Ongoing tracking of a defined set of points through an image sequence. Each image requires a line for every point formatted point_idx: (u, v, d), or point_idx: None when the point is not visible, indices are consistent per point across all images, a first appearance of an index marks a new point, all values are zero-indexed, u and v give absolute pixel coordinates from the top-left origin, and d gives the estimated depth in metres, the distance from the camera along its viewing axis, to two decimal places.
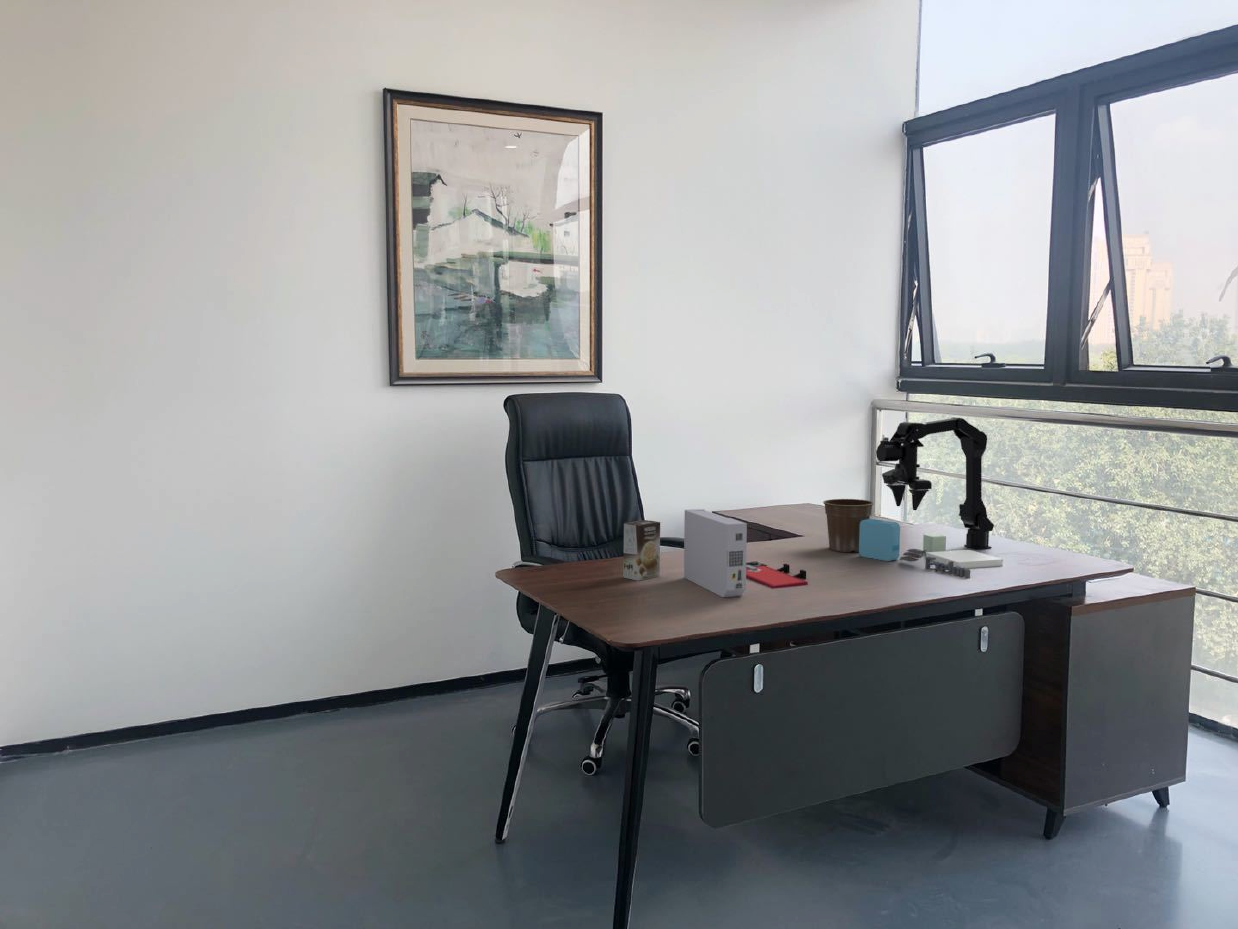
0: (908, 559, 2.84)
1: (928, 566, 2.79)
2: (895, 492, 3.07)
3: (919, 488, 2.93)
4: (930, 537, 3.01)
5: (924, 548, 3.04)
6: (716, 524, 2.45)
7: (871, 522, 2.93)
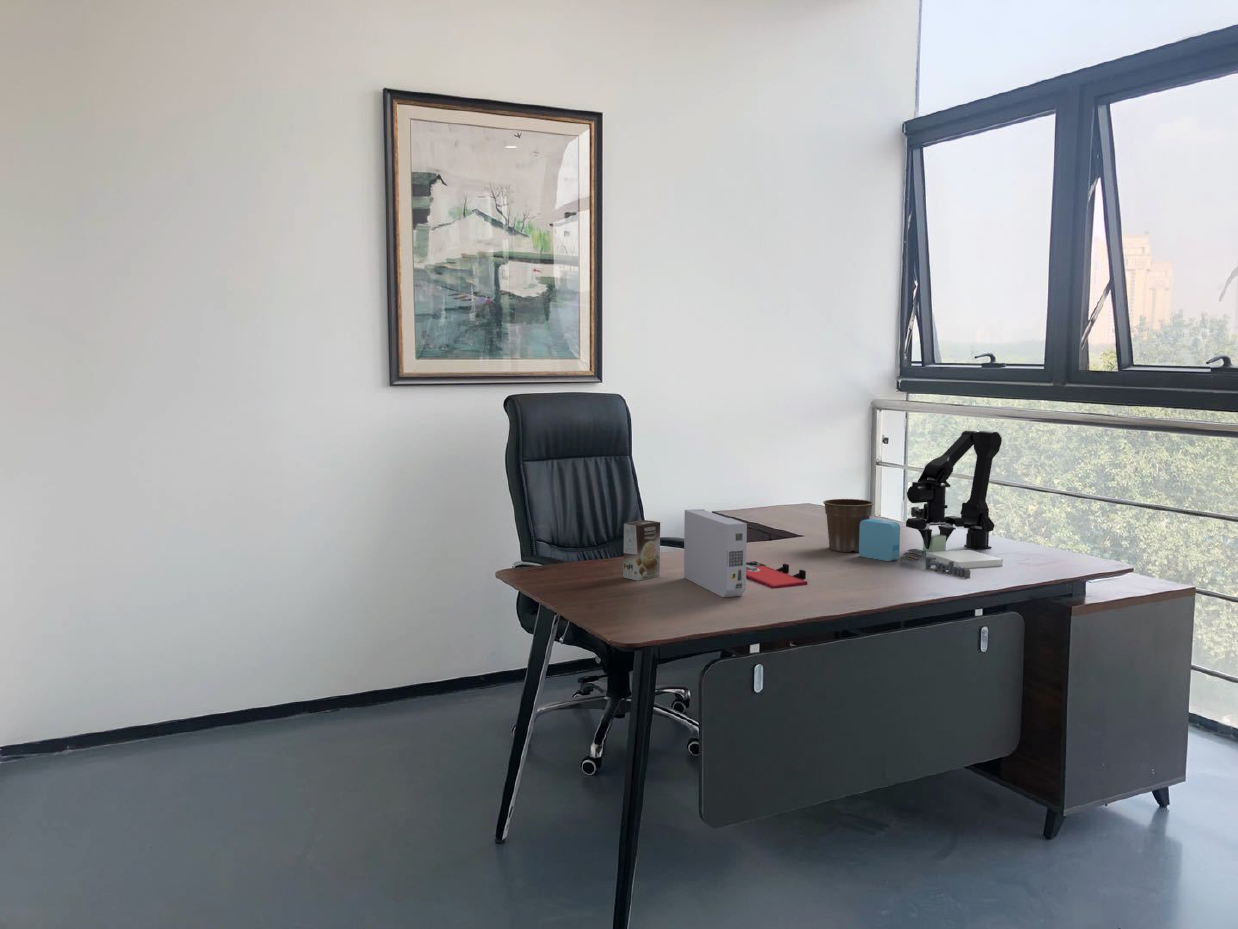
0: (908, 559, 2.84)
1: (928, 566, 2.79)
2: (940, 533, 3.04)
3: (907, 525, 3.01)
4: None
5: (924, 548, 3.04)
6: (716, 524, 2.45)
7: (871, 522, 2.93)
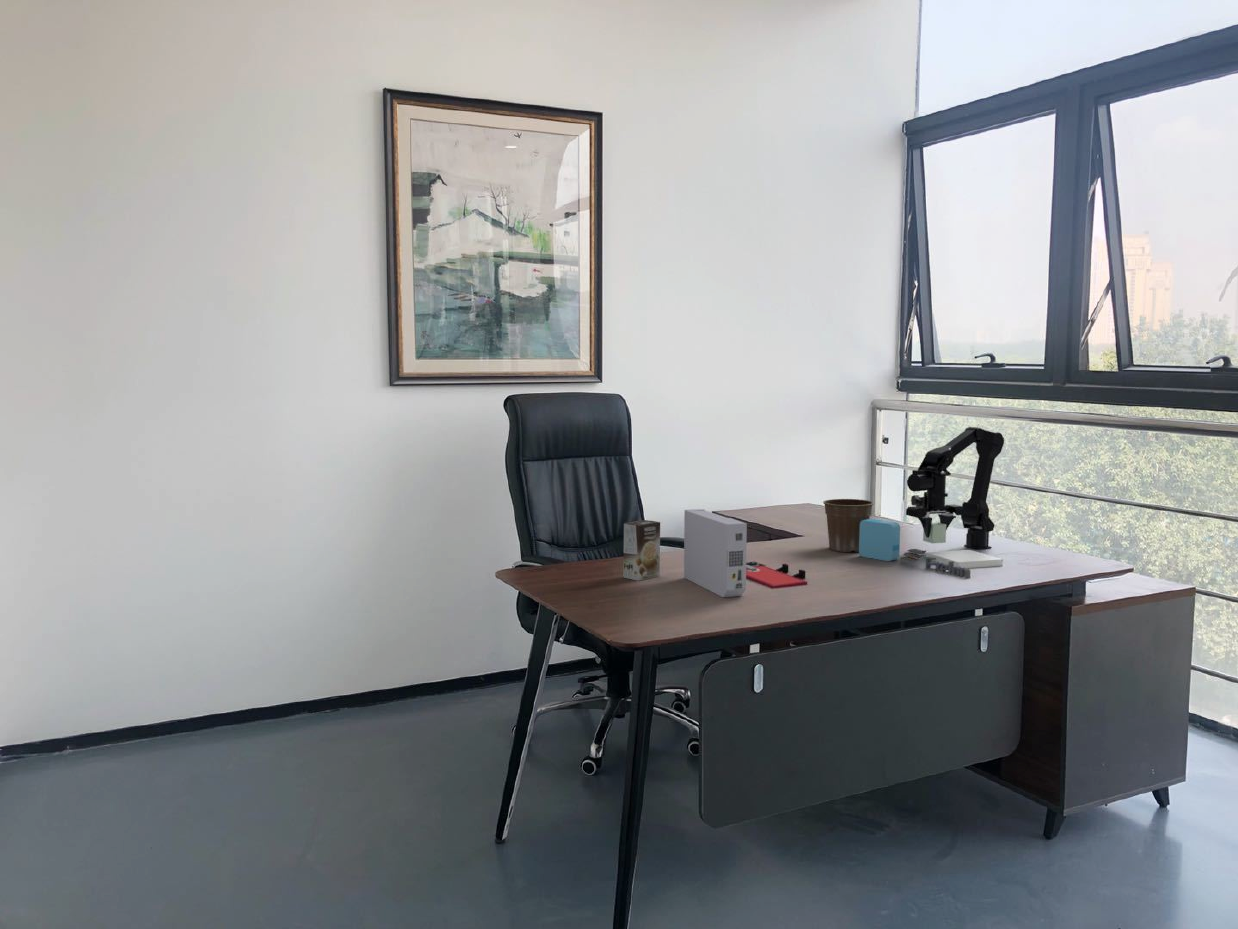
0: (908, 559, 2.84)
1: (928, 566, 2.79)
2: (940, 522, 3.04)
3: (907, 514, 3.01)
4: None
5: (924, 536, 3.03)
6: (716, 524, 2.45)
7: (871, 522, 2.93)
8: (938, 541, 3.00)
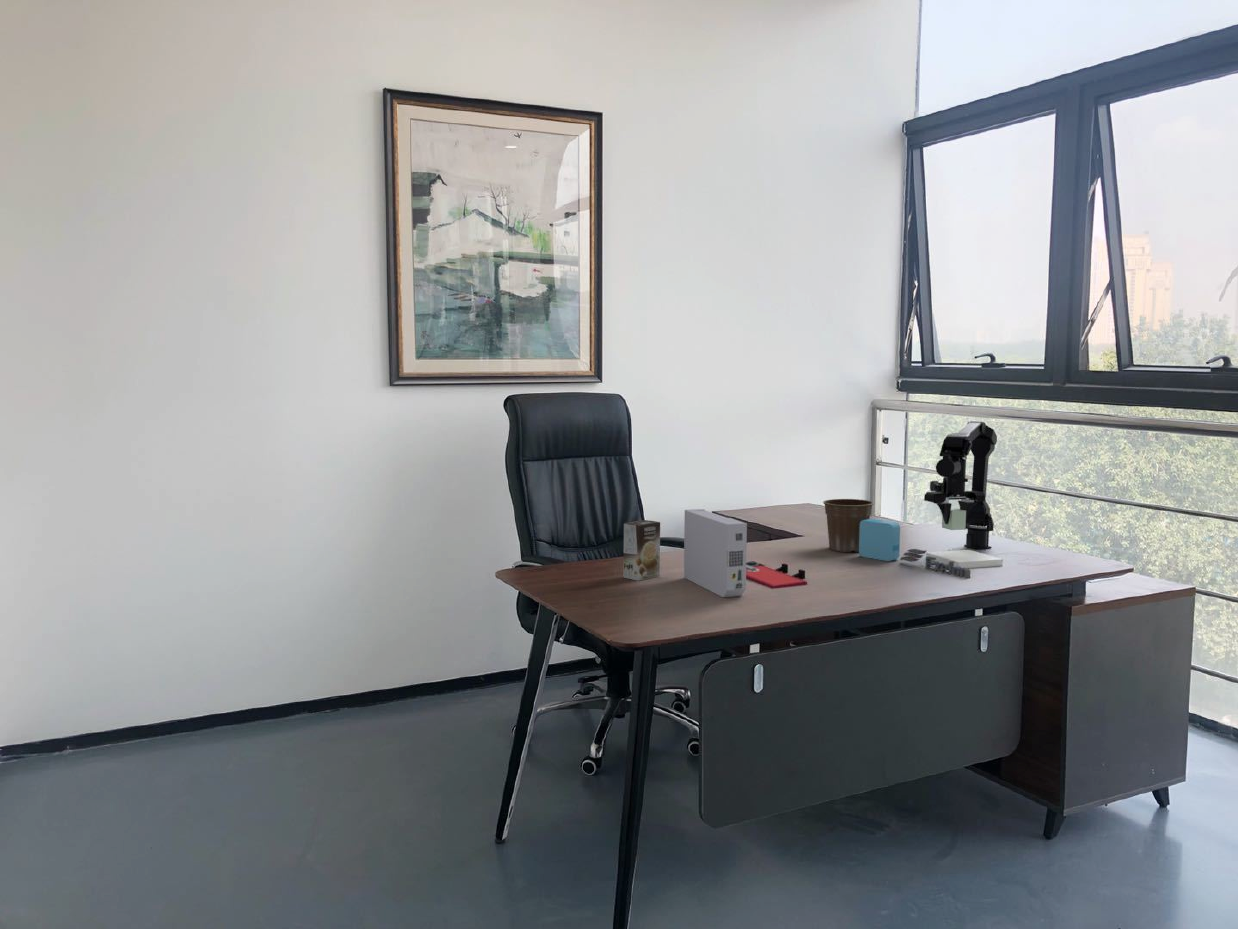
0: (908, 559, 2.84)
1: (928, 566, 2.79)
2: (960, 508, 2.94)
3: (925, 499, 2.91)
4: None
5: (943, 523, 2.93)
6: (717, 524, 2.45)
7: (871, 522, 2.93)
8: (957, 528, 2.90)
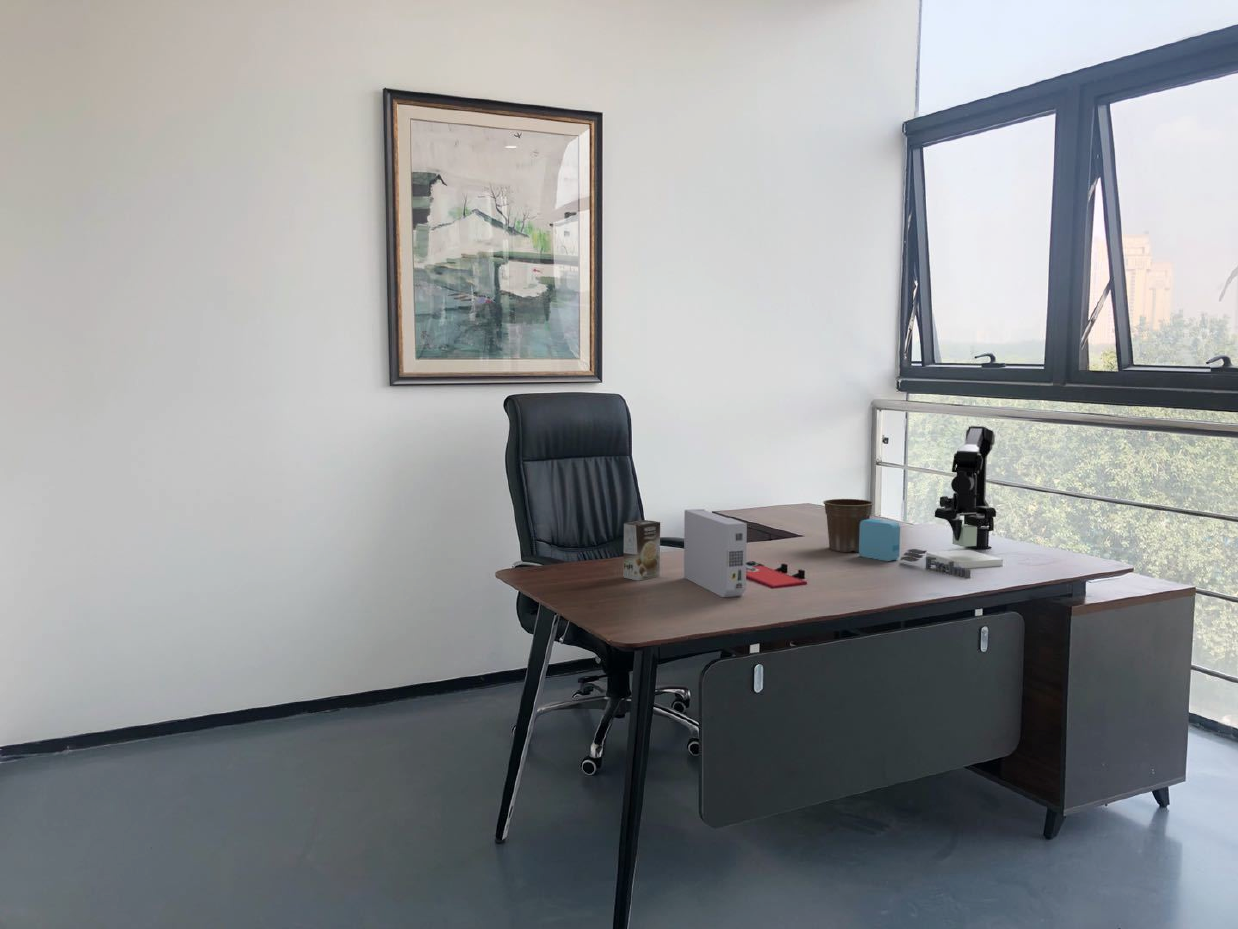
0: (909, 559, 2.84)
1: (928, 566, 2.79)
2: (970, 524, 2.89)
3: (936, 516, 2.86)
4: None
5: (954, 539, 2.89)
6: (716, 524, 2.45)
7: (871, 522, 2.93)
8: (968, 544, 2.86)
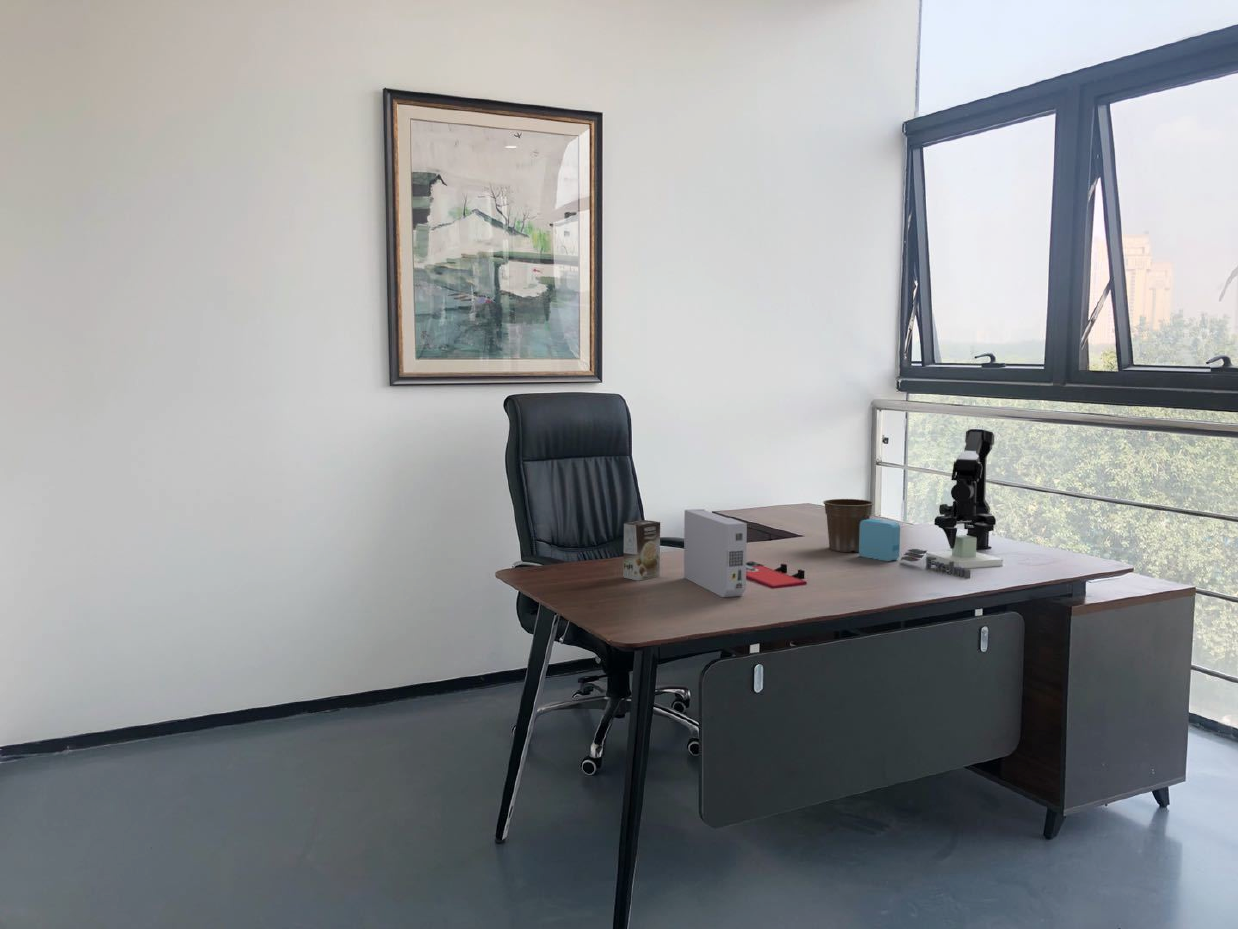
0: (909, 559, 2.84)
1: (929, 566, 2.79)
2: (975, 531, 2.90)
3: (935, 524, 2.86)
4: (960, 539, 2.86)
5: (953, 550, 2.89)
6: (716, 524, 2.45)
7: (871, 522, 2.93)
8: (968, 555, 2.86)
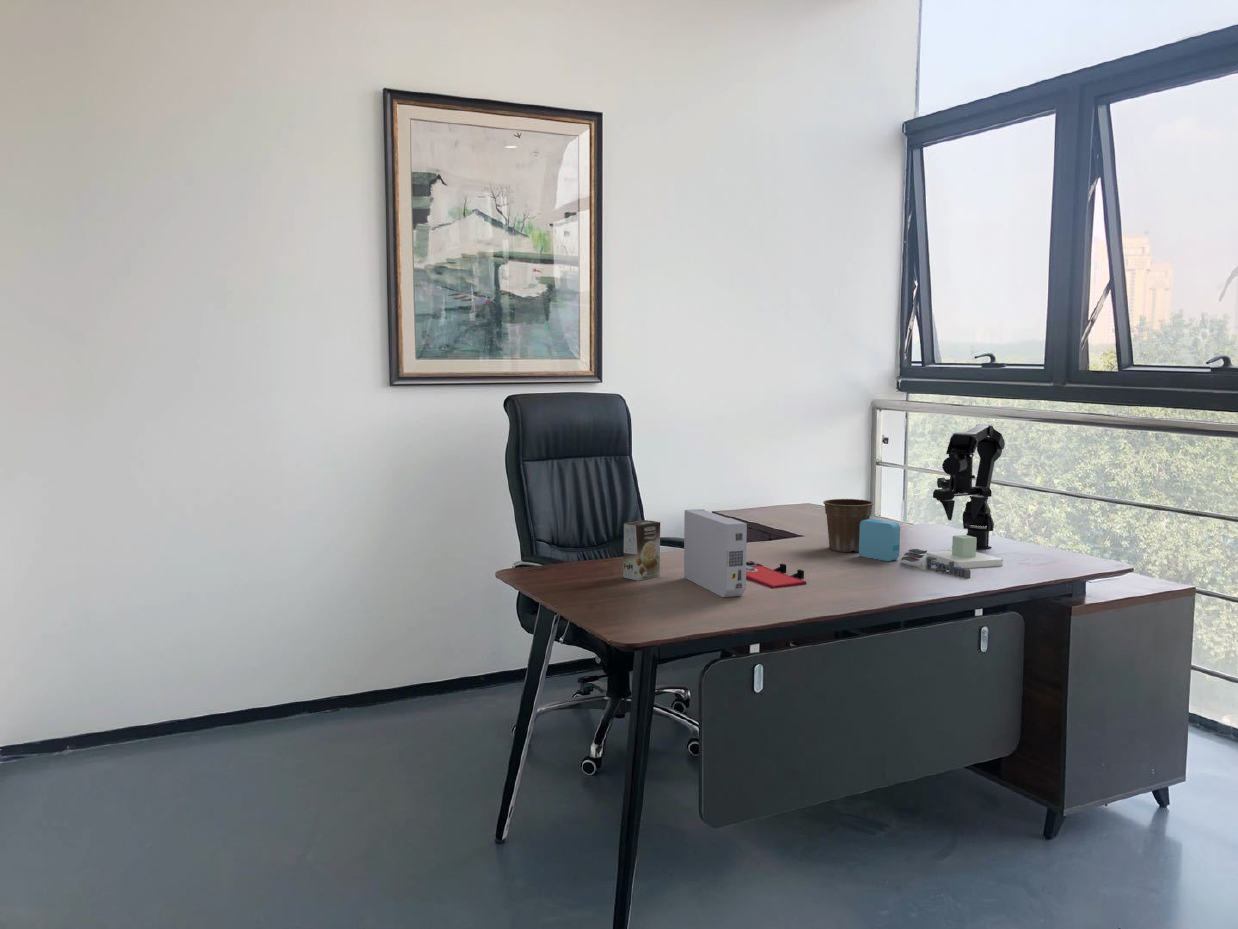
0: (909, 559, 2.84)
1: (929, 566, 2.79)
2: (972, 503, 3.01)
3: (934, 496, 2.97)
4: (960, 539, 2.86)
5: (953, 550, 2.89)
6: (716, 524, 2.45)
7: (871, 522, 2.93)
8: (968, 555, 2.86)
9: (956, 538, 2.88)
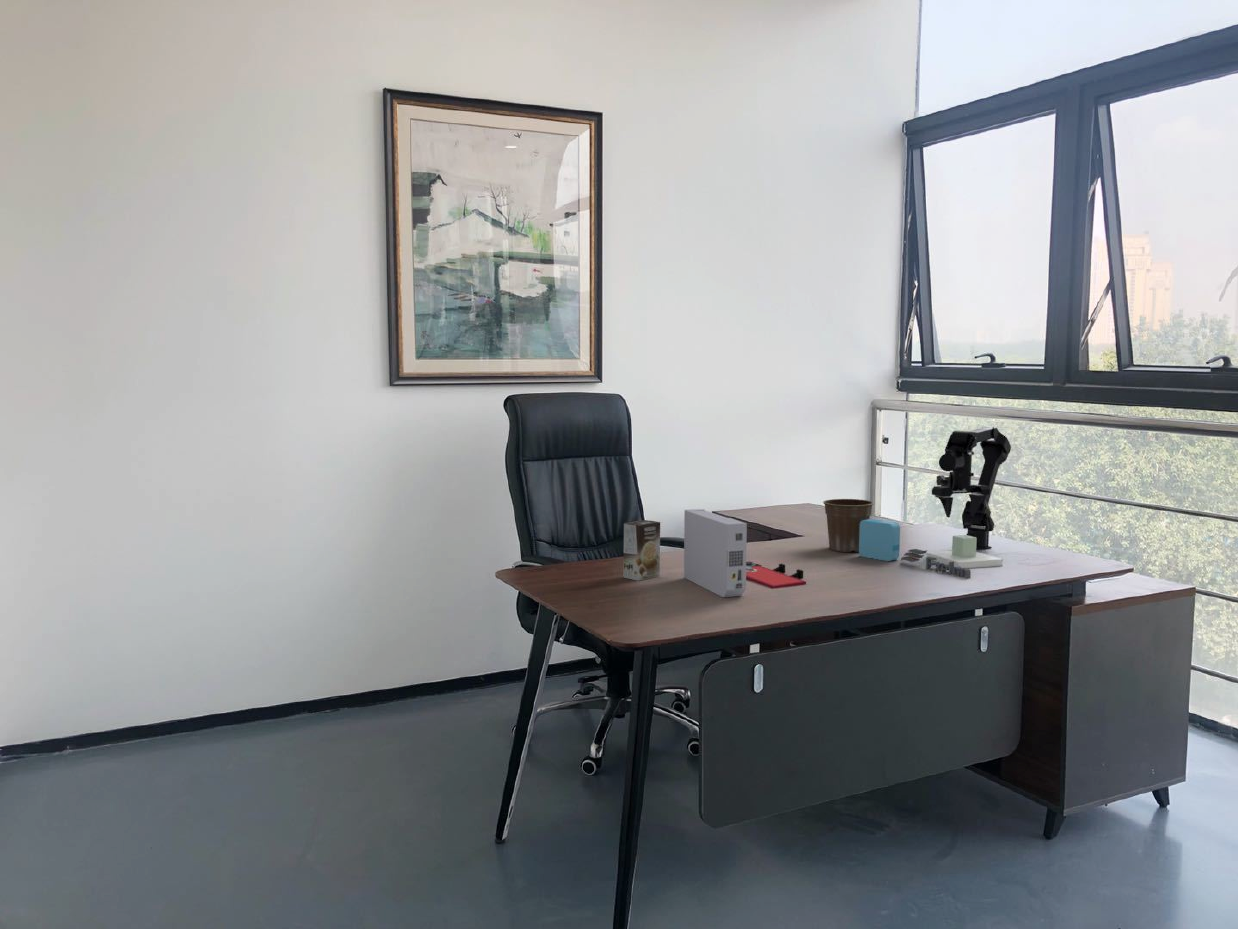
0: (909, 559, 2.84)
1: (929, 566, 2.78)
2: (971, 501, 3.04)
3: (933, 493, 3.00)
4: (960, 539, 2.86)
5: (953, 550, 2.89)
6: (716, 524, 2.45)
7: (871, 522, 2.93)
8: (968, 555, 2.86)
9: (956, 538, 2.88)
